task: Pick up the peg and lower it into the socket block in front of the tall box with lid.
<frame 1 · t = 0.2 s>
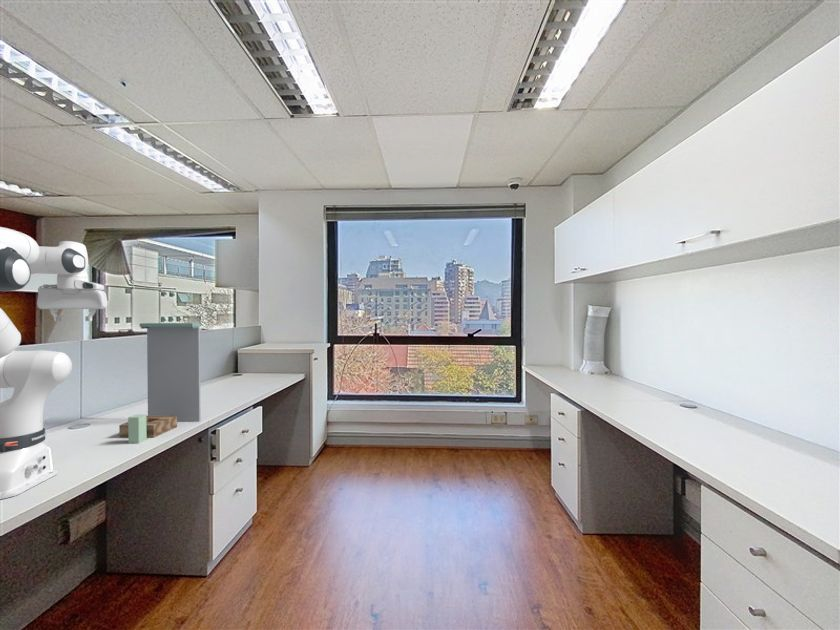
hand: (73, 321, 142), 47 cm above the table, tool pointing down, fingers open, 8 cm apart
socket block: (149, 431, 158), on the table
tall box with lid: (174, 421, 173), on the table
peg: (137, 441, 146), on the table
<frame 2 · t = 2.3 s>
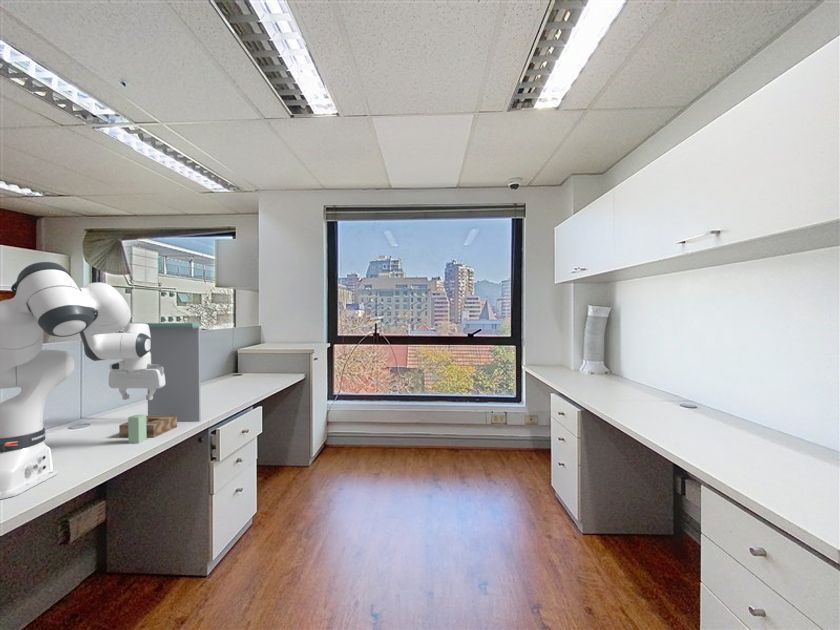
hand: (137, 399, 146), 16 cm above the table, tool pointing down, fingers open, 8 cm apart
nothing on the table moved.
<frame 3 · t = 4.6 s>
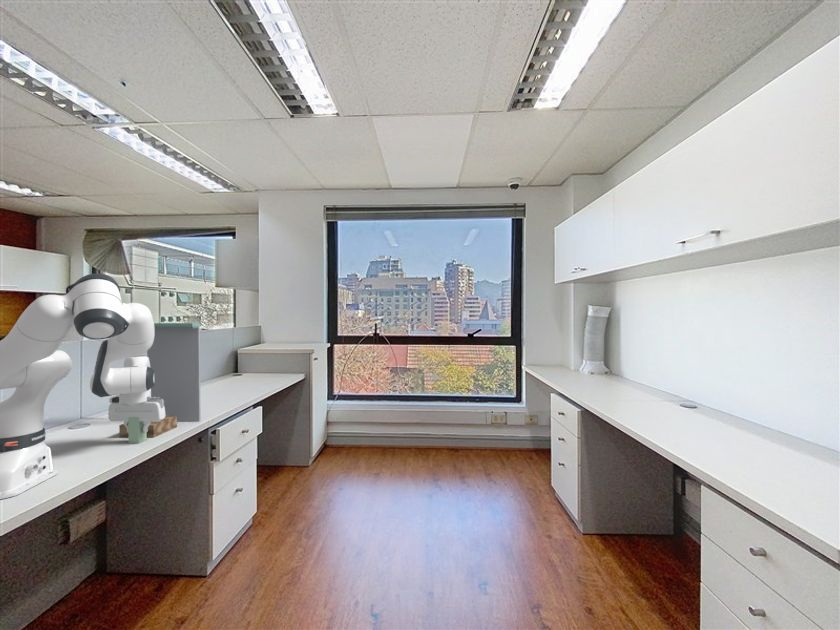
hand: (137, 432, 146), 4 cm above the table, tool pointing down, fingers closed on peg, 4 cm apart
peg: (137, 441, 146), on the table, touching gripper
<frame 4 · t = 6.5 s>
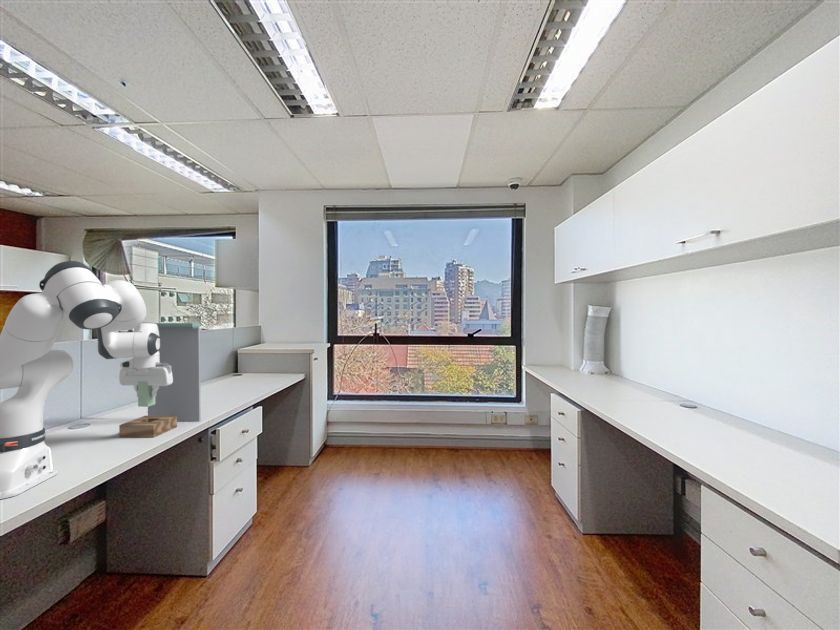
hand: (146, 396, 152), 16 cm above the table, tool pointing down, fingers closed on peg, 4 cm apart
peg: (146, 405, 152), point 13 cm above the table, touching gripper
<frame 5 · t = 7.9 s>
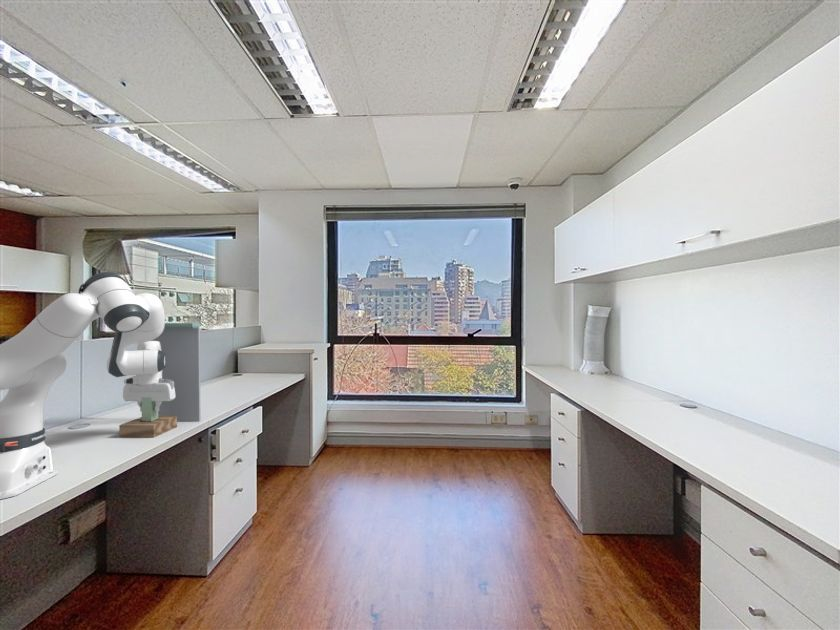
hand: (149, 411, 158), 9 cm above the table, tool pointing down, fingers closed on peg, 4 cm apart
peg: (150, 419, 158), point 5 cm above the table, touching gripper
when the fingers open (6 cm above the table, at t = 8.7 s): peg drops 3 cm, resting in socket block.
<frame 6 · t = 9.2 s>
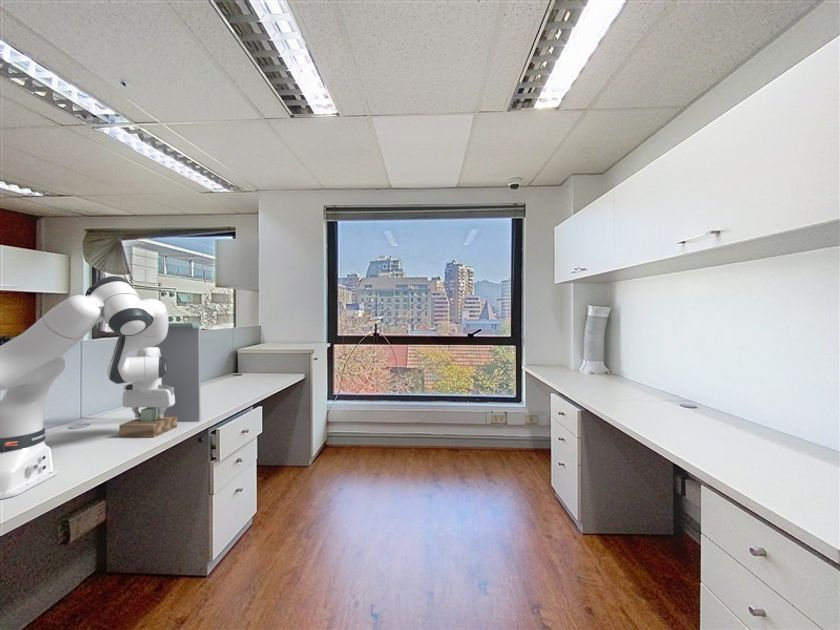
hand: (149, 417, 158), 6 cm above the table, tool pointing down, fingers open, 8 cm apart
peg: (149, 432, 158), resting in socket block
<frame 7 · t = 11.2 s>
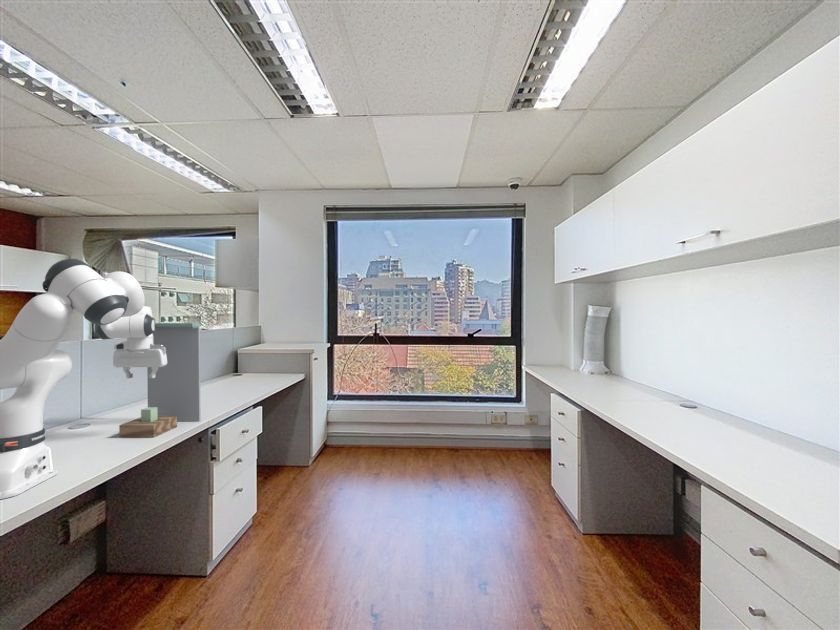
hand: (140, 377, 155), 23 cm above the table, tool pointing down, fingers open, 8 cm apart
nothing on the table moved.
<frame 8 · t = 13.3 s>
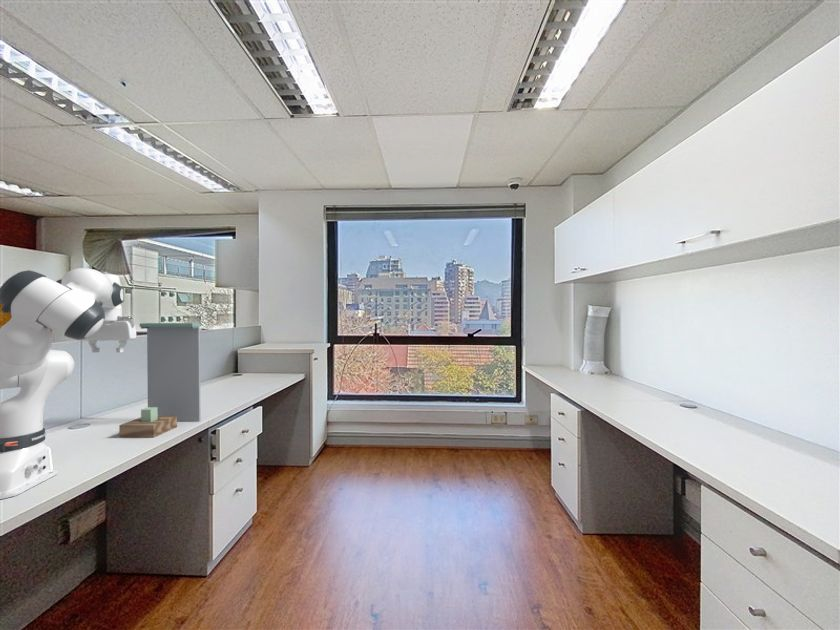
hand: (107, 352, 144), 35 cm above the table, tool pointing down, fingers open, 8 cm apart
nothing on the table moved.
at the end: peg 0.0 cm off-centre on the socket block, point 0.0 cm above the socket block's base; peg tilted 0°; the gripper is holding nothing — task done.
